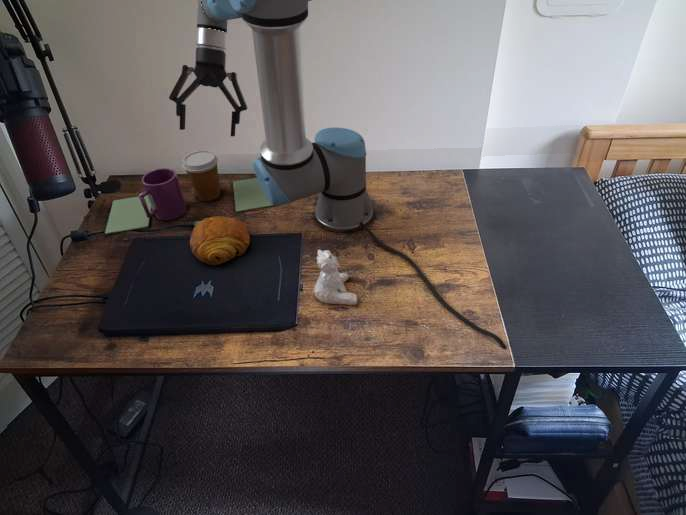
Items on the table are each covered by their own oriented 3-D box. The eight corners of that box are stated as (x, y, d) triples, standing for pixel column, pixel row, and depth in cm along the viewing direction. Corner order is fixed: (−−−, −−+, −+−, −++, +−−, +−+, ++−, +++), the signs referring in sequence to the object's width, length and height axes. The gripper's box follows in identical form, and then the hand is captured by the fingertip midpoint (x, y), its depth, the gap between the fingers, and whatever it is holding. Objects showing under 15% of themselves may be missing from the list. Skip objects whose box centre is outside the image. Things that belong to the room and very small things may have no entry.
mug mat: (148, 227, 121) (148, 226, 121) (105, 234, 119) (104, 233, 119) (153, 195, 133) (152, 194, 133) (113, 201, 131) (113, 200, 131)
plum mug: (172, 199, 131) (160, 165, 124) (193, 207, 127) (182, 172, 120) (139, 220, 123) (125, 185, 116) (161, 229, 120) (147, 194, 113)
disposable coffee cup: (222, 204, 128) (212, 166, 120) (188, 205, 128) (176, 167, 120) (229, 186, 135) (220, 149, 127) (197, 186, 135) (186, 150, 127)
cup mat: (276, 205, 126) (275, 204, 126) (236, 212, 124) (235, 211, 124) (269, 176, 138) (269, 175, 138) (233, 182, 136) (232, 181, 136)
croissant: (193, 276, 109) (182, 254, 103) (196, 230, 119) (186, 207, 113) (254, 266, 110) (247, 244, 104) (251, 221, 120) (245, 199, 114)
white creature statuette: (359, 305, 96) (358, 263, 88) (320, 315, 95) (315, 273, 87) (346, 276, 103) (344, 234, 95) (309, 285, 102) (304, 243, 94)
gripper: (261, 57, 123) (255, 137, 130) (166, 43, 121) (165, 125, 128) (257, 54, 116) (251, 139, 123) (157, 39, 114) (156, 127, 121)
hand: (207, 132), depth 125 cm, fingers open, 13 cm apart
